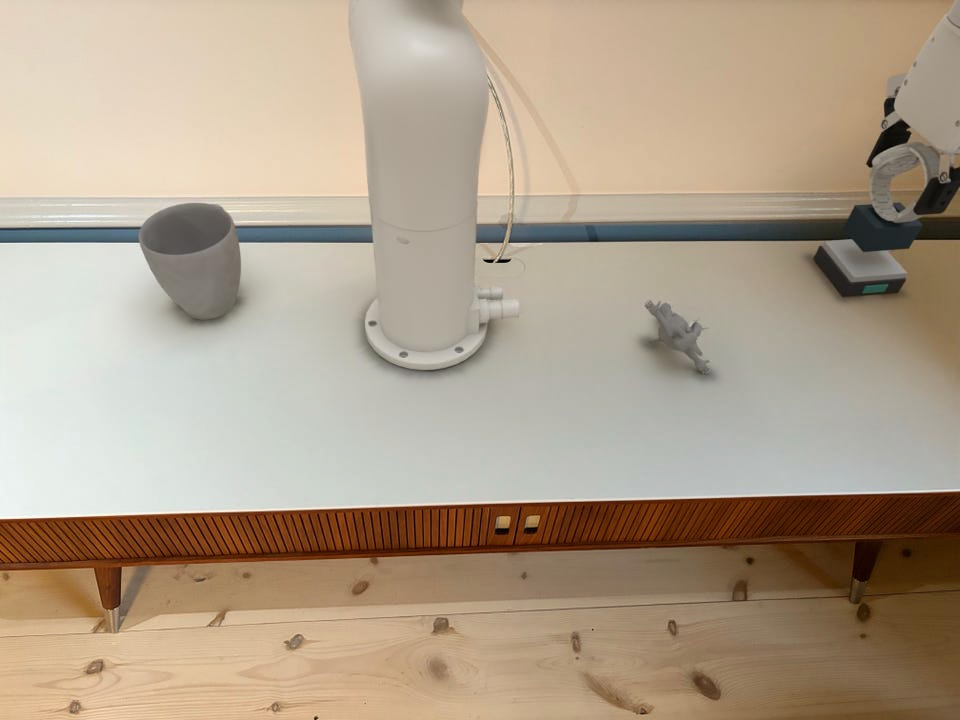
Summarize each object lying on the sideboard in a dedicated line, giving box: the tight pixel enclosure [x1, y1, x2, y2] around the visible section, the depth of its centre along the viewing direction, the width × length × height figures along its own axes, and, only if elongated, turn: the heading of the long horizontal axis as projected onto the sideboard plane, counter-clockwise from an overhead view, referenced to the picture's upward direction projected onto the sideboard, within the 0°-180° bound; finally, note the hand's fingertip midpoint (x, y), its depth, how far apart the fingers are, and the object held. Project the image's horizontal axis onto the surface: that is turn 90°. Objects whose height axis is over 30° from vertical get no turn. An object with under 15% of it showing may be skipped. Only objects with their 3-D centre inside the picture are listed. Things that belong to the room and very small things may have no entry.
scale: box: [812, 238, 908, 298], centre depth 81 cm, size 7×7×3 cm
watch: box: [842, 141, 941, 252], centre depth 74 cm, size 6×8×11 cm
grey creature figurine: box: [644, 299, 712, 375], centre depth 70 cm, size 10×6×9 cm
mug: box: [138, 202, 242, 321], centre depth 72 cm, size 12×9×10 cm
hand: (902, 187), depth 73 cm, fingers closed on watch, 8 cm apart
